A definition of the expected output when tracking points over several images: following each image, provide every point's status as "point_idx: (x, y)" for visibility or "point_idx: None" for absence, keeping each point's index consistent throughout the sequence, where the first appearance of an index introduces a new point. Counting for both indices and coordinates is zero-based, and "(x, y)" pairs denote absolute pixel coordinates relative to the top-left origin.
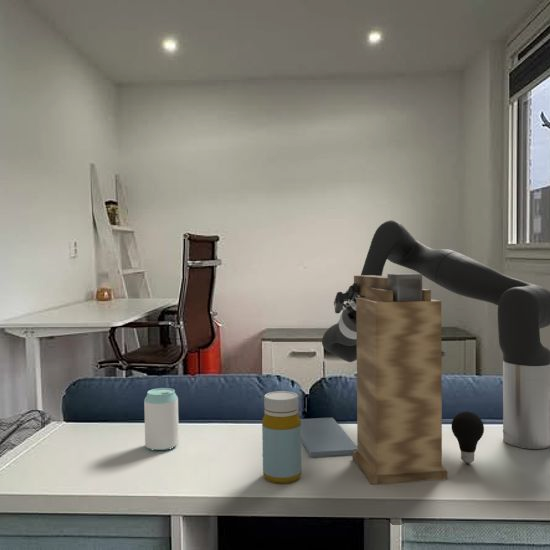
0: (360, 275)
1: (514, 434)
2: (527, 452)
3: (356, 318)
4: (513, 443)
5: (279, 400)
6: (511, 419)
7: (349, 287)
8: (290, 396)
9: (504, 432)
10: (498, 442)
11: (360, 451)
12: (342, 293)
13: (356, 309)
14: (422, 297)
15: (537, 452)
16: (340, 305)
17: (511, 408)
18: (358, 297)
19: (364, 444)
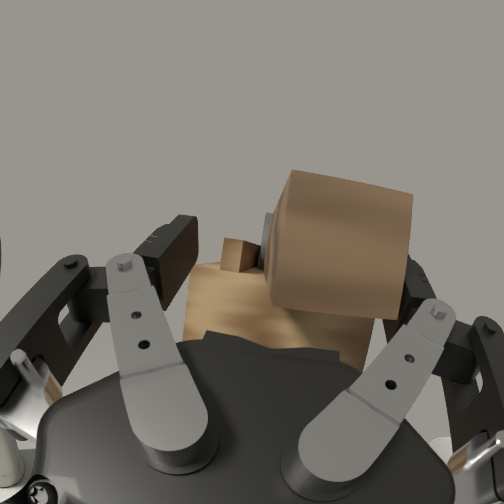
0: (371, 185)
1: (18, 462)
2: (33, 462)
3: (366, 355)
4: (22, 472)
5: (446, 438)
6: (11, 449)
7: (421, 272)
8: (438, 449)
9: (9, 475)
10: (18, 491)
11: None
12: (470, 328)
13: (372, 328)
14: (258, 259)
15: (25, 455)
16: (459, 406)
17: (7, 435)
18: (357, 371)
19: None
